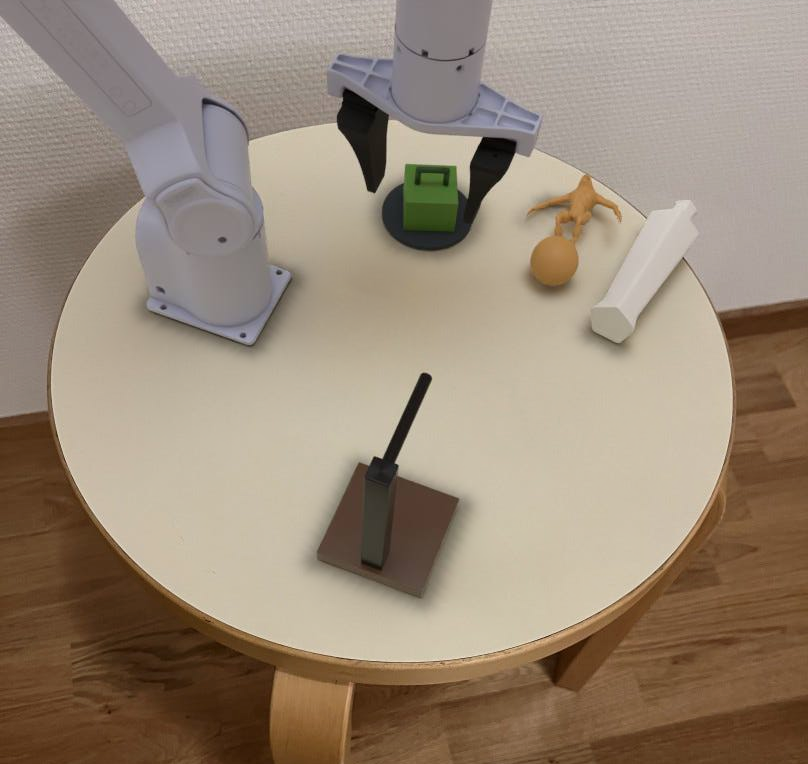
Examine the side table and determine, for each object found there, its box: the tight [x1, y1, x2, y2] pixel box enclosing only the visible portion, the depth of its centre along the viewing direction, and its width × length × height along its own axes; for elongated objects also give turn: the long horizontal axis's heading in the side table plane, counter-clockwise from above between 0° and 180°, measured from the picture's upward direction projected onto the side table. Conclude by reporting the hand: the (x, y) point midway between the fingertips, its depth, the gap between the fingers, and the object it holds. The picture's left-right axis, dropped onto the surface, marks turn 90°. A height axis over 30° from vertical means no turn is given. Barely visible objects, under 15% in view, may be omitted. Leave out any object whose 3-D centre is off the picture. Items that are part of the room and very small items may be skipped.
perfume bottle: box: [590, 199, 700, 344], centre depth 76 cm, size 5×4×15 cm
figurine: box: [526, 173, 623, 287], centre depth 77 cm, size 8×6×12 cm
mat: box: [381, 182, 473, 252], centre depth 79 cm, size 8×8×1 cm
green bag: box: [403, 163, 459, 232], centre depth 77 cm, size 4×4×5 cm
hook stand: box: [316, 372, 460, 598], centre depth 60 cm, size 8×9×14 cm
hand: (423, 198), depth 67 cm, fingers open, 7 cm apart
